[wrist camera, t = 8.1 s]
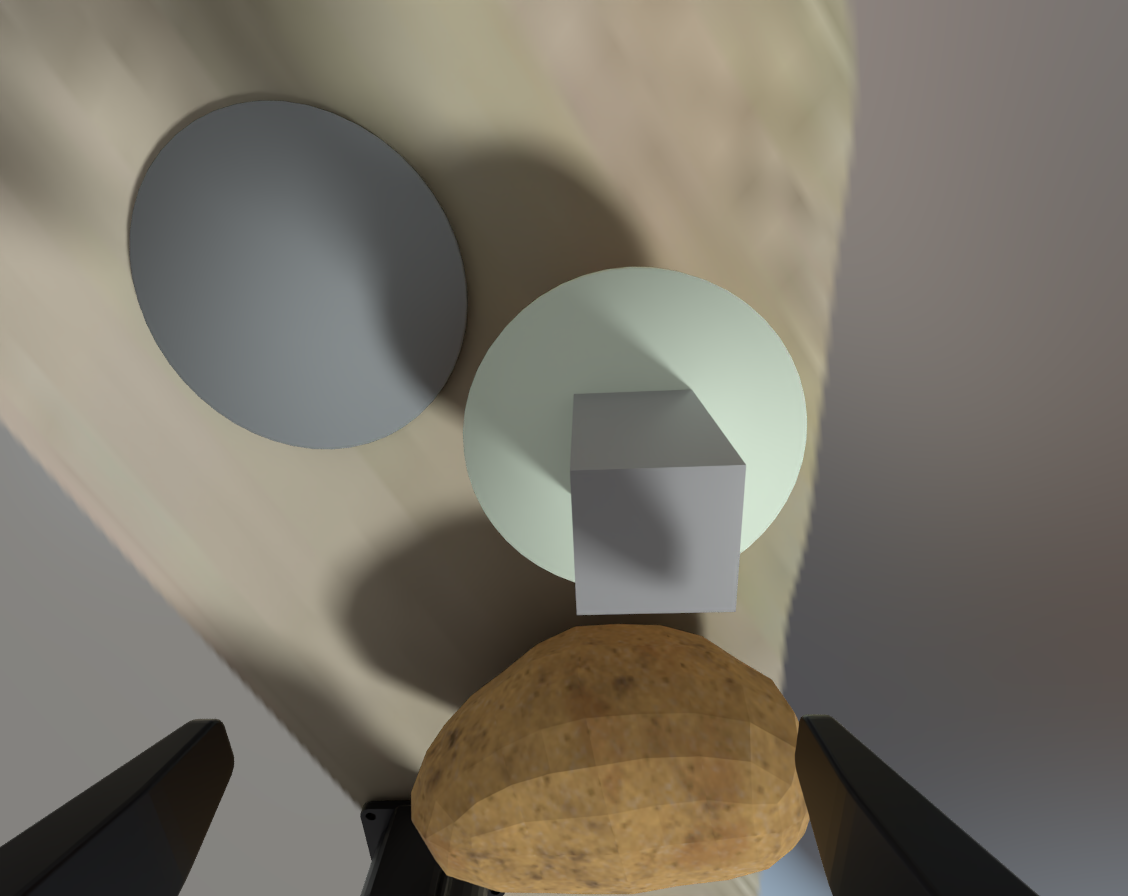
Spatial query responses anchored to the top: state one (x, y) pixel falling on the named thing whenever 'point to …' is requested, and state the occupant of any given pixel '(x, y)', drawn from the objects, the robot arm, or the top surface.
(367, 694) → the top surface
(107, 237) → the top surface
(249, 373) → the mat
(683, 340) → the lid
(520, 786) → the potato
